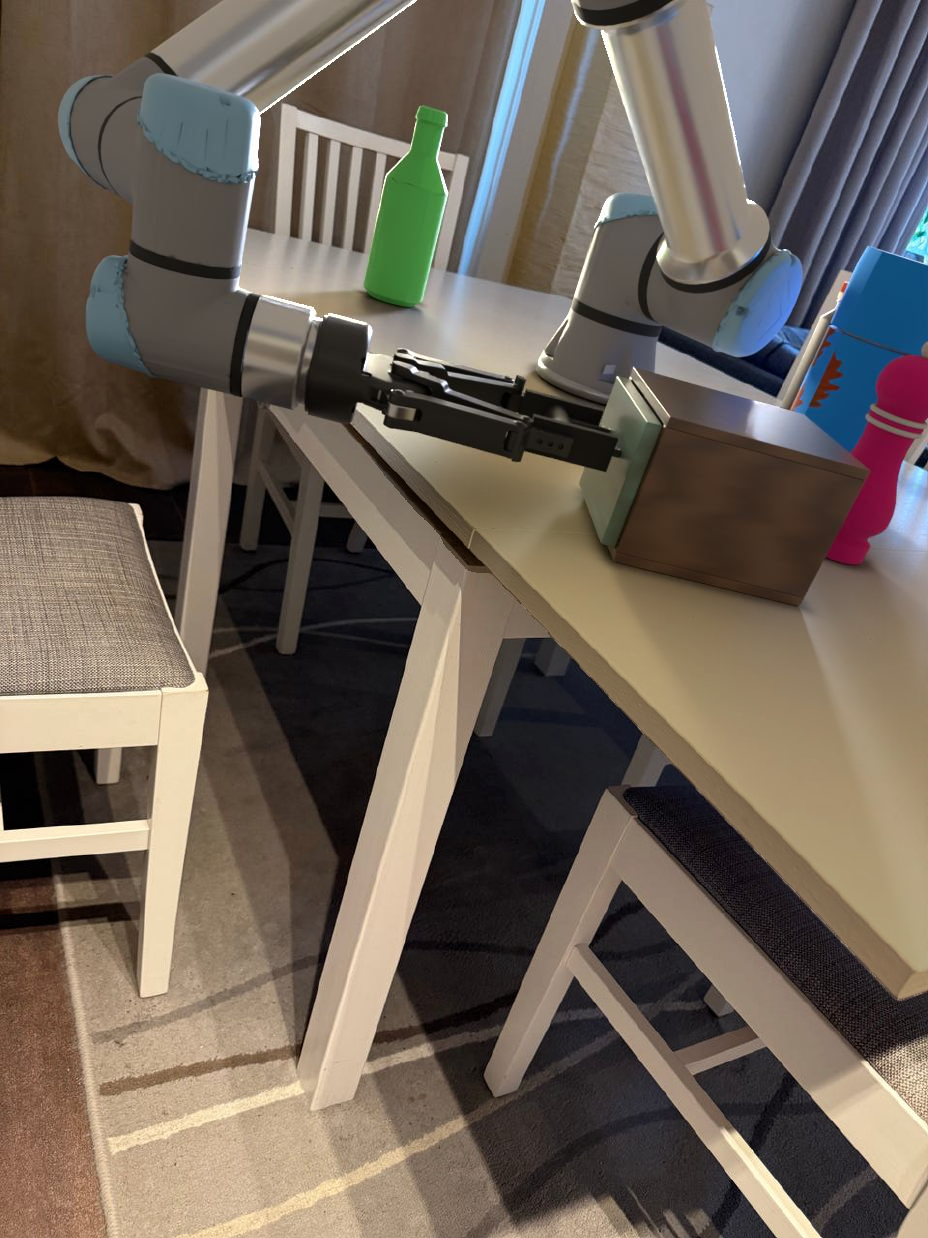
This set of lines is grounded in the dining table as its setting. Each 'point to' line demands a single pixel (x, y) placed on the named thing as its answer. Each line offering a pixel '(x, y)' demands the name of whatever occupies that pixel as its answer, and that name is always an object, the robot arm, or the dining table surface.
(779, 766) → the dining table surface
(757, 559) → the drawer box
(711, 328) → the robot arm
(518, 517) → the dining table surface
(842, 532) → the pepper mill
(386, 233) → the bottle
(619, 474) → the drawer
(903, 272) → the blue carton
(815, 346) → the vinegar
